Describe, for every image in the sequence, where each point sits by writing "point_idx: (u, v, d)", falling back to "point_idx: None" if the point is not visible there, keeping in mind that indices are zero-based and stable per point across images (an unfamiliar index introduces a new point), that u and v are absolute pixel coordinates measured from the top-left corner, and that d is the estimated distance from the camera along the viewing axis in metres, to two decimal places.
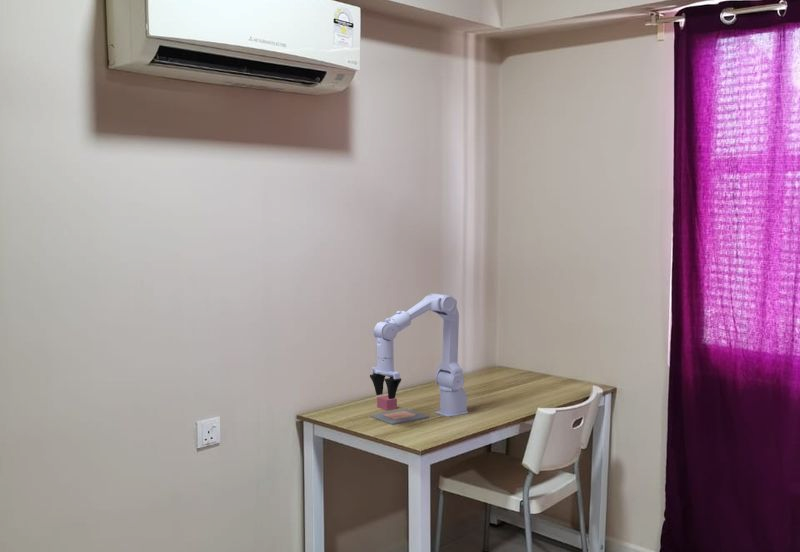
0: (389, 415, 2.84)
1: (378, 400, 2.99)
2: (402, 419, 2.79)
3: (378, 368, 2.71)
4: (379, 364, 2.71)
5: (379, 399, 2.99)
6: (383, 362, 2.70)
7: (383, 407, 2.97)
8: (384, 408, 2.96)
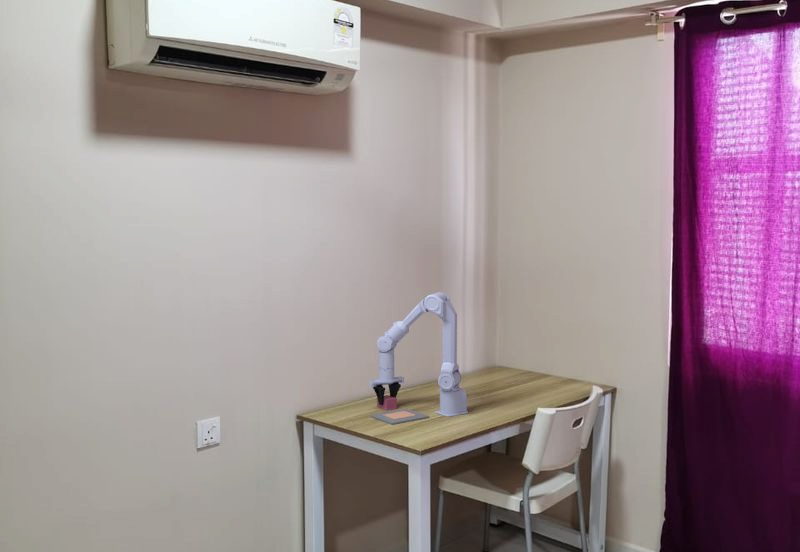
0: (389, 415, 2.84)
1: None
2: (402, 419, 2.79)
3: None
4: None
5: None
6: None
7: (383, 406, 2.97)
8: (384, 408, 2.96)
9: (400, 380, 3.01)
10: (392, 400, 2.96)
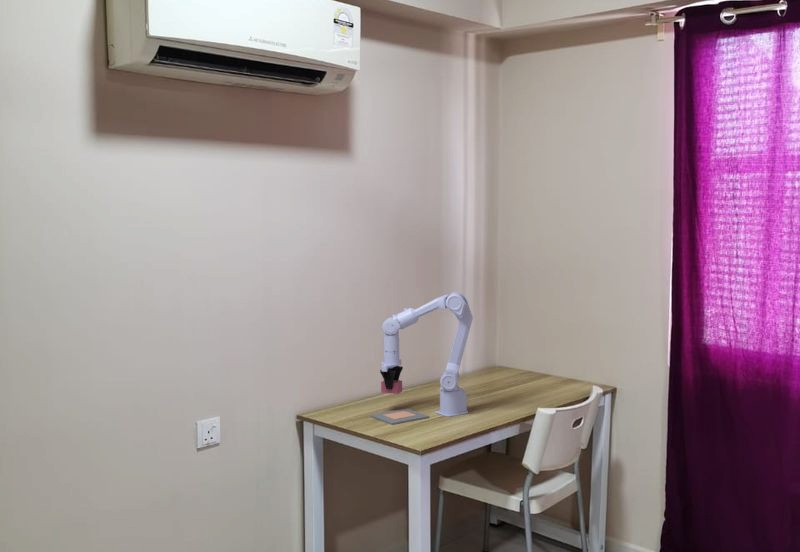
0: (389, 415, 2.84)
1: (383, 385, 2.91)
2: (402, 419, 2.79)
3: None
4: None
5: None
6: (384, 354, 2.91)
7: (391, 390, 2.90)
8: (393, 391, 2.90)
9: None
10: (400, 383, 2.92)
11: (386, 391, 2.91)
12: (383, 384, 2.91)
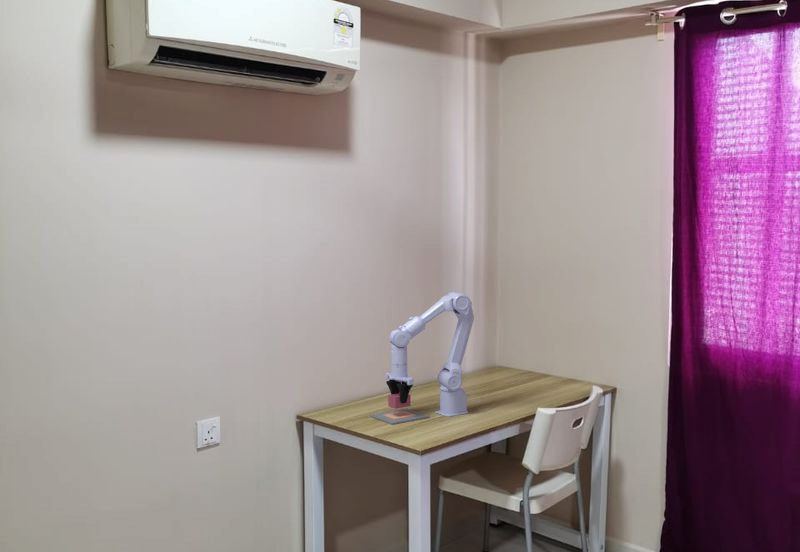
0: (389, 415, 2.84)
1: (397, 400, 2.81)
2: (402, 419, 2.79)
3: (392, 374, 2.82)
4: (393, 370, 2.82)
5: (399, 398, 2.82)
6: (397, 368, 2.81)
7: (404, 404, 2.83)
8: (406, 404, 2.84)
9: None
10: None
11: (400, 406, 2.82)
12: (397, 399, 2.81)
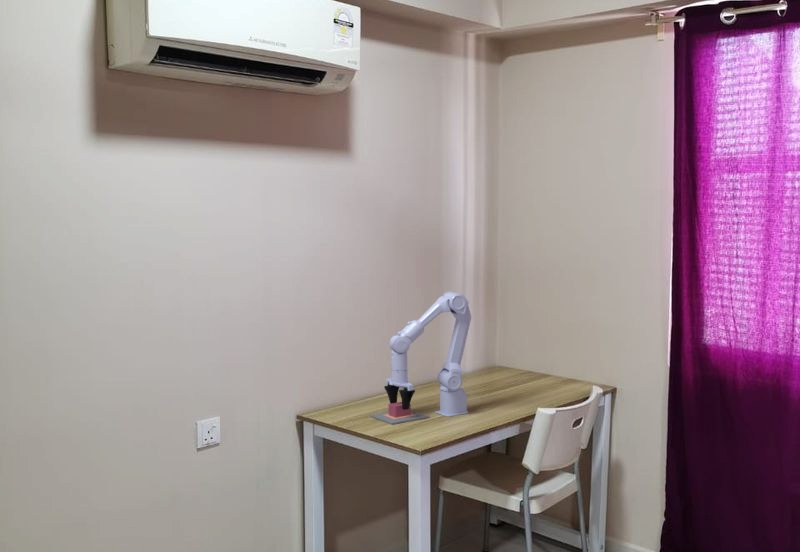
0: (389, 415, 2.84)
1: (397, 409, 2.82)
2: (402, 419, 2.79)
3: (392, 380, 2.82)
4: (393, 376, 2.82)
5: (399, 407, 2.82)
6: (397, 374, 2.81)
7: (404, 413, 2.83)
8: (407, 413, 2.84)
9: None
10: None
11: (400, 415, 2.82)
12: (397, 408, 2.82)
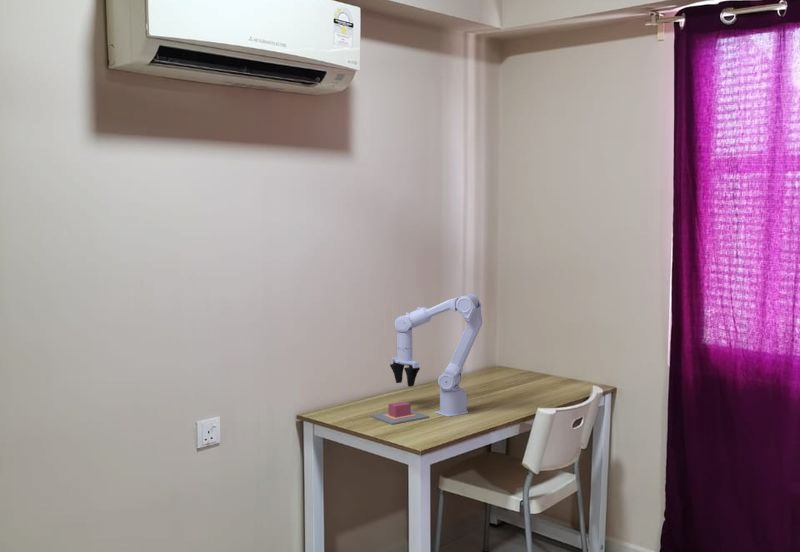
0: (389, 415, 2.84)
1: (397, 409, 2.82)
2: (402, 419, 2.79)
3: (398, 358, 2.93)
4: (399, 354, 2.92)
5: (399, 407, 2.82)
6: (403, 352, 2.92)
7: (404, 413, 2.83)
8: (407, 413, 2.84)
9: None
10: None
11: (400, 415, 2.82)
12: (397, 408, 2.82)
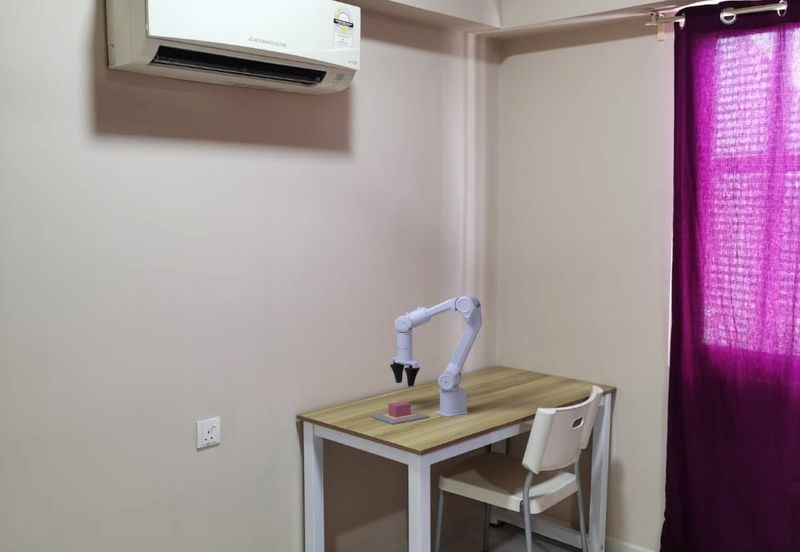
0: (389, 415, 2.84)
1: (397, 409, 2.82)
2: (402, 419, 2.79)
3: (398, 358, 2.93)
4: (399, 354, 2.92)
5: (399, 407, 2.82)
6: (403, 352, 2.92)
7: (404, 413, 2.83)
8: (407, 413, 2.84)
9: None
10: None
11: (400, 415, 2.82)
12: (397, 408, 2.82)
